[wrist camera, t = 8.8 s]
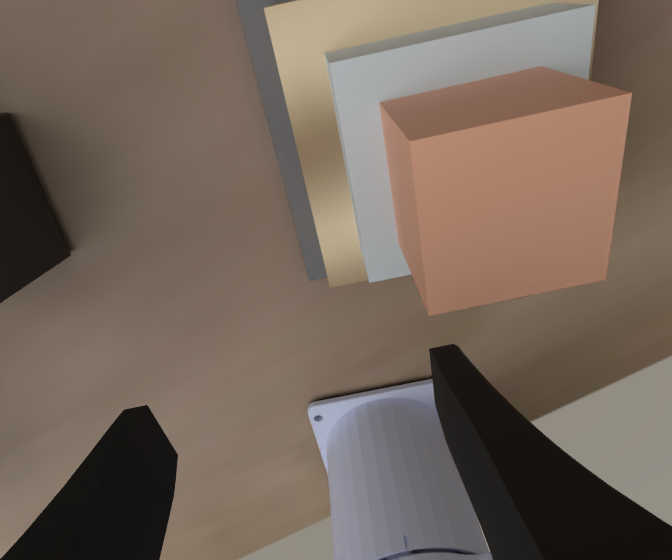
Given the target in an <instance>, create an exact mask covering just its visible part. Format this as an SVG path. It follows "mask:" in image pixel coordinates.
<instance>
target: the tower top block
mask: <svg viewBox="0 0 672 560" xmlns="http://www.w3.org/2000/svg"><path fill="white" fill-rule="evenodd" d="M594 16H595V4H568V3H547V4H543V5H538V6H534V7H529V8H525V9H520V10H516V11H511V12H507V13H502V14H498V15H493V16H488V17H484V18H479V19H475V20H470V21H466V22H461V23H457V24H452V25H448V26H443V27H439V28H434V29H430V30H425V31H421V32H416V33H412V34H407V35H403V36H398V37H394V38H389V39H385V40H380V41H376V42H371V43H367V44H362V45H358V46H353V47H349V48H344V49H340V50H335V51H331V52H326V53H324V55H325V60H326V66H327V71H328V76H329V82H330V87H331V93H332V98H333V103H334V109H335V114H336V120H337V125H338V130H339V136H340V141H341V147H342V152H343V157H344V163H345V168H346V174H347V179H348V184H349V190H350V195H351V201H352V206H353V212H354V217H355V222H356V228H357V233H358V239H359V244H360V249H361V253H362V257H363V261H364V265H365V268H366V272H367V276H368V280H369V283H371V282H376V281H381V280H386V279H391V278H396V277H401V276H406V275H411V272H410V270H409V267H408V265H407V262H406V260H405V258H404V255H403V253H402V250H401V248H400V246H399V242H398V235H397V228H396V221H395V213H394V206H393V199H392V192H391V185H390V178H389V171H388V163H387V156H386V149H385V142H384V135H383V128H382V120H381V113H380V106H379V102H382V101H387V100H391V99H396V98H400V97H405V96H409V95H414V94H418V93H423V92H427V91H432V90H436V89H441V88H445V87H450V86H454V85H459V84H463V83H468V82H472V81H477V80H481V79H486V78H490V77H495V76H499V75H504V74H508V73H513V72H517V71H522V70H526V69H531V68H535V67H540V66H543V67H546V68H549V69H553V70H556V71H560V72H563V73H566V74H570V75H573V76H577V77H580V78H583V79H587V80H588V79H589V68H590V58H591V47H592V37H593V26H594Z"/></svg>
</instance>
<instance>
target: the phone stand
mask: <svg viewBox="0 0 672 560" xmlns="http://www.w3.org/2000/svg"><path fill="white" fill-rule="evenodd" d="M70 255H71V253H70V251H69V249H68V247H67V244H66V242H65V240H64V238H63V235H62V233H61V231H60V229H59V227H58V224H57V222H56V220H55V218H54V215H53V213H52V211H51V209H50V207H49V204H48V202H47V200H46V198H45V195H44V193H43V191H42V189H41V186H40V184H39V182H38V180H37V178H36V175H35V173H34V171H33V169H32V166H31V164H30V162H29V160H28V158H27V155H26V153H25V151H24V149H23V146H22V144H21V142H20V140H19V138H18V135H17V133H16V131H15V129H14V126H13V124H12V122H11V120H10V118H9V115H8V113H0V303H1V302H2V301H4V300H5V299H7V298H8V297H10V296H11V295H13V294H14V293H16V292H17V291H19V290H20V289H22V288H23V287H25V286H26V285H28V284H29V283H31V282H32V281H34V280H35V279H37V278H38V277H39V276H41V275H42V274H44V273H45V272H47V271H48V270H50V269H51V268H53V267H54V266H56V265H57V264H59V263H60V262H62V261H63V260H65V259H66V258H68V257H69V256H70Z"/></svg>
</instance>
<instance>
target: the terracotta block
mask: <svg viewBox="0 0 672 560" xmlns="http://www.w3.org/2000/svg"><path fill="white" fill-rule="evenodd" d="M631 98H632V93H631V92H628V91H624V90H621V89H617V88H614V87H611V86H607V85H604V84H600V83H597V82H594V81H590V80H587V79H583V78H580V77H577V76H573V75H570V74H566V73H563V72H560V71H556V70H553V69H549V68H546V67H543V66H540V67H535V68H531V69H526V70H522V71H517V72H513V73H508V74H504V75H499V76H495V77H490V78H486V79H481V80H477V81H472V82H468V83H463V84H459V85H454V86H450V87H445V88H441V89H436V90H432V91H427V92H423V93H418V94H414V95H409V96H405V97H400V98H396V99H391V100H387V101H382V102H379V106H380V113H381V120H382V128H383V135H384V142H385V149H386V156H387V163H388V171H389V178H390V185H391V192H392V199H393V206H394V213H395V221H396V228H397V235H398V242H399V246H400V248H401V250H402V253H403V255H404V258H405V260H406V262H407V265H408V267H409V270H410V272H411V274H412V277H413V279H414V282H415V284H416V286H417V289H418V291H419V294H420V296H421V298H422V301H423V303H424V306H425V308H426V310H427V313H428V315H429V316H431V315H436V314H441V313H446V312H451V311H456V310H461V309H466V308H471V307H475V306H480V305H485V304H490V303H495V302H500V301H505V300H510V299H515V298H520V297H524V296H529V295H534V294H539V293H544V292H549V291H554V290H559V289H564V288H569V287H574V286H578V285H583V284H588V283H593V282H598V281H603V280H606V277H607V270H608V263H609V256H610V248H611V241H612V234H613V227H614V220H615V213H616V206H617V198H618V191H619V184H620V177H621V170H622V163H623V155H624V148H625V141H626V134H627V127H628V120H629V113H630V105H631Z"/></svg>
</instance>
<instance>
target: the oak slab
mask: <svg viewBox="0 0 672 560" xmlns="http://www.w3.org/2000/svg"><path fill="white" fill-rule="evenodd" d="M547 3H568V4H595V16H594V26H593V37H592V47H591V58H590V68H589V79H588V80H590V81H591V74H592V64H593V54H594V44H595V33H596V23H597V13H598V3H599V0H293V1H289V2H284V3H280V4H275V5H271V6H267V7H265V8H264V12H265V16H266V20H267V24H268V29H269V33H270V37H271V41H272V45H273V50H274V54H275V58H276V62H277V66H278V71H279V75H280V79H281V83H282V88H283V92H284V96H285V100H286V104H287V109H288V113H289V117H290V121H291V125H292V130H293V134H294V138H295V142H296V146H297V151H298V155H299V159H300V163H301V168H302V172H303V176H304V180H305V184H306V189H307V193H308V197H309V201H310V205H311V210H312V214H313V218H314V222H315V226H316V231H317V235H318V239H319V243H320V248H321V252H322V256H323V260H324V264H325V269H326V273H327V277H328V281H329V285H330V288H333V287H338V286H343V285H348V284H353V283H358V282H363V281H368V276H367V272H366V268H365V265H364V261H363V257H362V253H361V249H360V244H359V239H358V233H357V228H356V222H355V217H354V212H353V206H352V201H351V195H350V190H349V184H348V179H347V174H346V168H345V163H344V157H343V152H342V147H341V141H340V136H339V130H338V125H337V120H336V114H335V109H334V103H333V98H332V93H331V87H330V82H329V76H328V71H327V66H326V60H325V55H324V53H326V52H331V51H335V50H340V49H344V48H349V47H353V46H358V45H362V44H367V43H371V42H376V41H380V40H385V39H389V38H394V37H398V36H403V35H407V34H412V33H416V32H421V31H425V30H430V29H434V28H439V27H443V26H448V25H452V24H457V23H461V22H466V21H470V20H475V19H479V18H484V17H488V16H493V15H498V14H502V13H507V12H511V11H516V10H520V9H525V8H529V7H534V6H538V5H543V4H547Z"/></svg>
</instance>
